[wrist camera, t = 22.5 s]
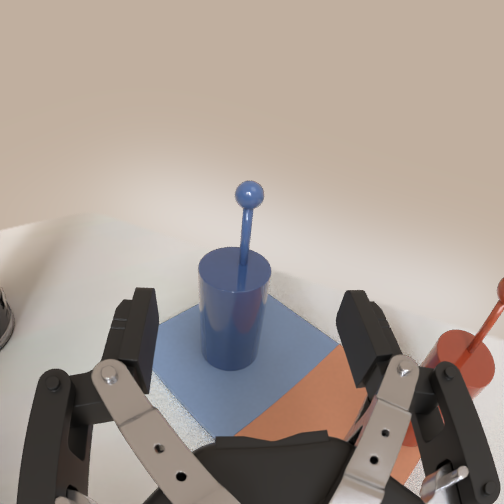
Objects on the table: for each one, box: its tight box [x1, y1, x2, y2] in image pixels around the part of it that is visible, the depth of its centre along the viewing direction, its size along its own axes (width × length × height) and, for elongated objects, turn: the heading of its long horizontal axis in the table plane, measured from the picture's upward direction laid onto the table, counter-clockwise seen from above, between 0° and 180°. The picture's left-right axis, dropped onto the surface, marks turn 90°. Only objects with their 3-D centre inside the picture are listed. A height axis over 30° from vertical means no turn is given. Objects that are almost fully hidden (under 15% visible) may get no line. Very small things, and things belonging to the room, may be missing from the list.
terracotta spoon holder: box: [402, 278, 504, 447], centre depth 19 cm, size 6×6×17 cm
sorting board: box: [152, 294, 421, 485], centre depth 27 cm, size 16×28×1 cm, turn 45°
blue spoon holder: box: [198, 181, 271, 371], centre depth 26 cm, size 6×6×17 cm
